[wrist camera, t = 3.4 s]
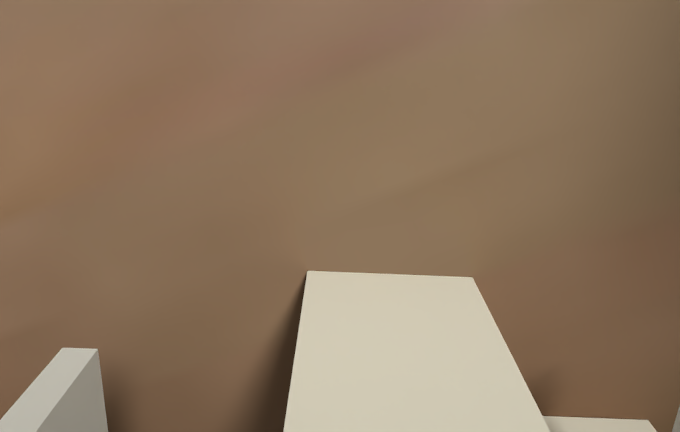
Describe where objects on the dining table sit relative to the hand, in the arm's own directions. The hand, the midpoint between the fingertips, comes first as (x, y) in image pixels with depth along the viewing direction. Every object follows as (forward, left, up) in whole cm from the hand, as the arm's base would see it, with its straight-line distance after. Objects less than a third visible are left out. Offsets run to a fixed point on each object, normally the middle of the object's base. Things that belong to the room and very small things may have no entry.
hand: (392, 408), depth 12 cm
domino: (0, 0, -5) cm, 5 cm away
